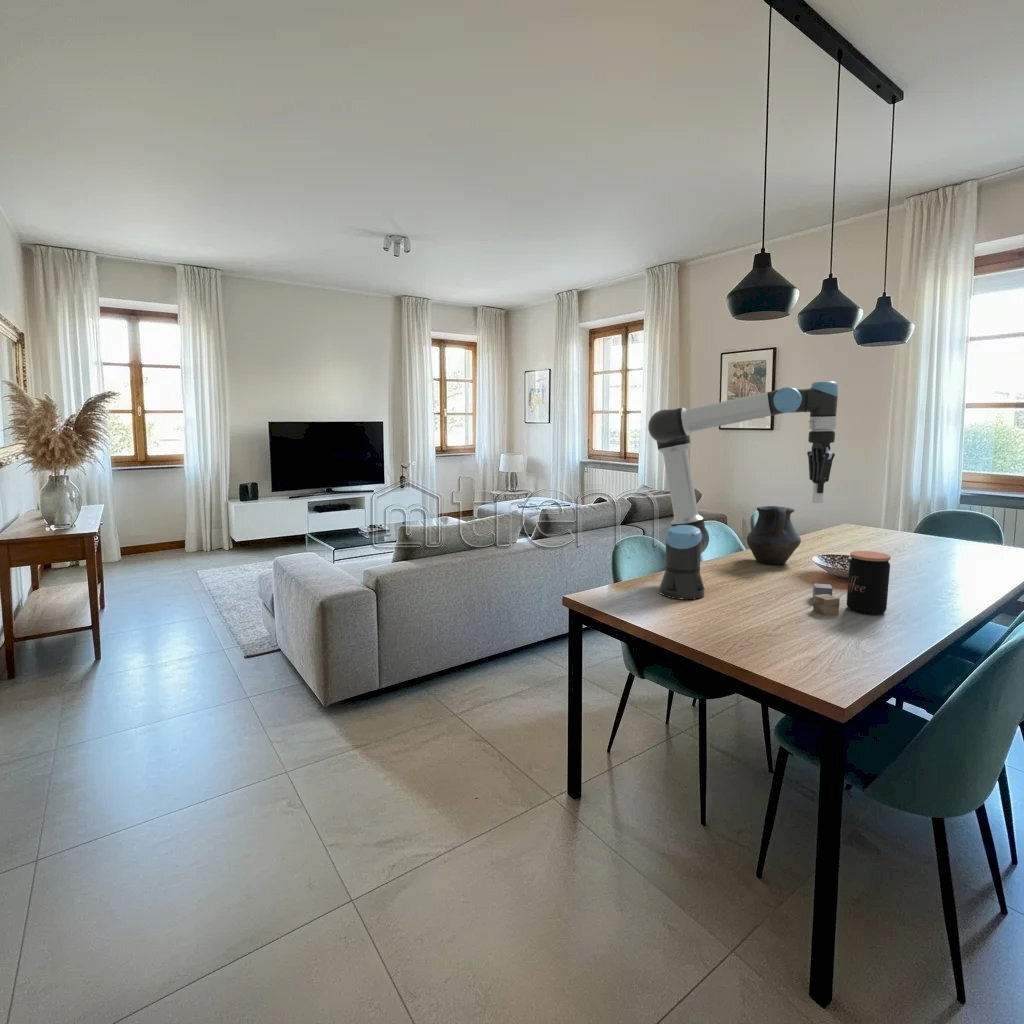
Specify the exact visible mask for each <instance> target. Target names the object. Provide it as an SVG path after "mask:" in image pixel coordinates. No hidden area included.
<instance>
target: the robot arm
mask: <svg viewBox="0 0 1024 1024" xmlns="http://www.w3.org/2000/svg"><path fill="white" fill-rule="evenodd" d="M838 387H839V385H838V383H837V382H836V381H828V380H827V381H814V382H812V383H811V386H810V388H804V389H803V388H801V389H800V388H799V389H798V388H795V387H793V386H785V387H782V388H780V389H776V390H771V391H766V392H762V393H757V394H753V395H748V396H743V397H739V398H734V399H729V400H725V401H720V402H716V403H712V404H708V405H701V406H697V407H692V408H688V409H687V408H685V407H679V408H672V409H659V410H658V411H656V412H655V413H653V415H651V417H650V419H649V421H648V424H647V425H648V427H647V428H648V432H649V435H650V437H651V438H652V439H653V440H654V441H656V446H657V450H658V452H660V453H661V454H662V455H663V460H664V465H665V471H666V473H665V474H666V477H667V478H666V479H667V484H668V489H669V495H670V501H671V506H672V512H673V519H672V520H671V522H670V527H668V528H667V529H666V533H665V537H664V538H665V559H664V560H665V563H664V564H665V568H664V574H663V575H662V579H661V582H660V584H659V593H662V594H664V595H666V596H670V597H674V598H683V599H693V600H695V599H694V598H699V599H701V598H700V597H702V596H704V597H705V595H704V594H705V592H706V591H705V585H704V582H703V579H702V576H701V554H703V553H704V552H705V551H706V549H708V548H707V547H708V546H709V541H710V534H709V531H708V529H707V528H706V523H705V521H704V520H705V519H704V517H703V516H702V515H700V513H699V509H698V505H697V504H698V503H697V499H696V498H697V497H696V492H695V487H694V481H693V480H694V479H693V476H692V470H691V465H690V464H691V463H690V457H689V452H688V448H690V446H691V444H692V443H691V438H690V437H691V436H690V434H691V433H693V432H697V431H702V430H707V429H713V428H717V427H721V426H726V425H732V424H736V423H742V422H746V421H750V420H751V421H752V420H755V419H756V420H757V419H761V418H765V417H770V416H776V415H782V414H787V413H788V414H789V413H790V414H791V413H792V414H795V413H809V419H808V420H809V421H808V423H809V427H808V429H809V430H810V431H808V443H810V444H812V445H811V450H809V451H807V453H806V454H807V460H808V472H809V474H808V475H809V476H808V477H809V480H810V481H811V482H812V483H813V485H812V499H811V500H812V504H823V502H824V489H825V488H824V487H825V484H826V482H829V480H830V475H831V470H832V465H833V460H834V458H835V452H831V444H833V443H835V442H836V441H835V439H836V431H835V429H836V425H837V412H838V411H837V408H838V399H839V398H838V396H839V395H838V394H839V393H838V391H839V390H838V389H839V388H838ZM702 598H703V597H702Z"/></svg>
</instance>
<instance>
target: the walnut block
mask: <svg viewBox="0 0 1024 1024" xmlns="http://www.w3.org/2000/svg"><path fill="white" fill-rule="evenodd" d="M840 601H841V599H840V597H837V596H834V595H833V594H832V595H829V594H822V595H814V599H813V601H812V602H813V604H812V605H813V607H812V611H814V612H816V613H818V614H821V615H823V616H831V615H839V614H840Z"/></svg>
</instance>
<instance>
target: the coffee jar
mask: <svg viewBox="0 0 1024 1024" xmlns="http://www.w3.org/2000/svg"><path fill="white" fill-rule="evenodd" d="M849 555H850V557H851V559H850V560H849V565H848V566H849V567H848V579H847V594H846V606H847V609H849V611H851V612H853V613H855V614H859V615H865V616H882V615H884V614H885V612H886V611H887V607H888V595H889V594H888V593H889V583H890V582H889V581H890V571H891V564H890V562H889V561H890V560H891V558H892V557H891V555H889V554H887V553H884V552H881V551H871V550H870V551H869V550H853V551H851V552H850V554H849Z"/></svg>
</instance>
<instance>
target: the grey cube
mask: <svg viewBox="0 0 1024 1024" xmlns="http://www.w3.org/2000/svg"><path fill="white" fill-rule="evenodd" d="M812 585H813V587H812V599H813V600H814V595H822V594H829V595H832V596H833V589H834V588H833V587H832V585H831V584H826V583H813V584H812Z"/></svg>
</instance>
